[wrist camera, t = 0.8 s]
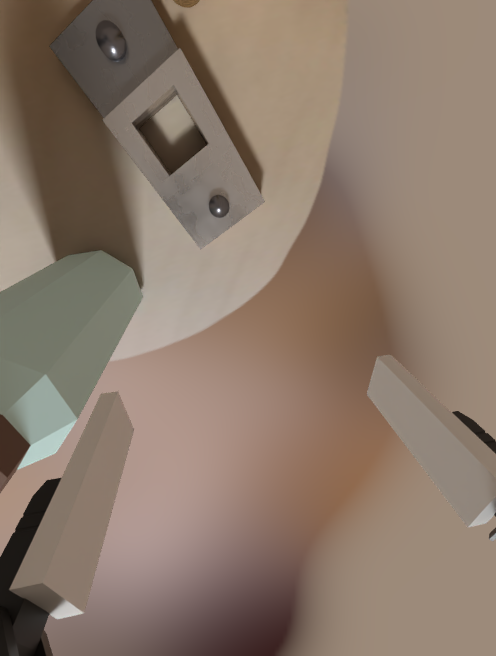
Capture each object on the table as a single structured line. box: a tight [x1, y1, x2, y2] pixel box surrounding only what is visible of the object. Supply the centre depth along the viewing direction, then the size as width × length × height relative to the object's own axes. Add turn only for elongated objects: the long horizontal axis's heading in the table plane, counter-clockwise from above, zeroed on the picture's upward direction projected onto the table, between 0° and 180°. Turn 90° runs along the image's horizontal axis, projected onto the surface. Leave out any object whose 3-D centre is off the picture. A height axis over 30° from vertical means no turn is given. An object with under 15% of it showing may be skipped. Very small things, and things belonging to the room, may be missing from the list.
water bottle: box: [0, 250, 143, 493], centre depth 22 cm, size 10×10×25 cm
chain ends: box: [50, 0, 265, 249], centre depth 25 cm, size 20×9×4 cm, turn 34°
